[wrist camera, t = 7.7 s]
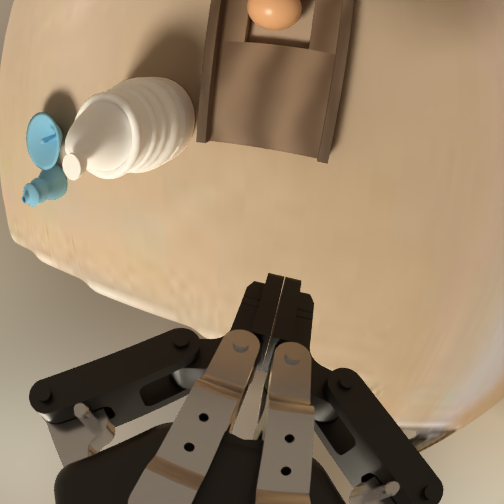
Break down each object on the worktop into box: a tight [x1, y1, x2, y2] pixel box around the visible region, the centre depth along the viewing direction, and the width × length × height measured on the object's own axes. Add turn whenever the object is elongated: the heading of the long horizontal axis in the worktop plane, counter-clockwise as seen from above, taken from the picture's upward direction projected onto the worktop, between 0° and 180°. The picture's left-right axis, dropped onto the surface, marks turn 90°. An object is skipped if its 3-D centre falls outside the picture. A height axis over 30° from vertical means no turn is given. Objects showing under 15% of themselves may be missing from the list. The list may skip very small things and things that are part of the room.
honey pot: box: [62, 77, 195, 180], centre depth 28 cm, size 13×13×18 cm
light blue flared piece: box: [22, 112, 67, 207], centre depth 37 cm, size 18×10×9 cm, turn 160°
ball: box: [247, 0, 302, 30], centre depth 22 cm, size 6×6×6 cm
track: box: [196, 0, 354, 164], centre depth 26 cm, size 16×28×3 cm, turn 174°
